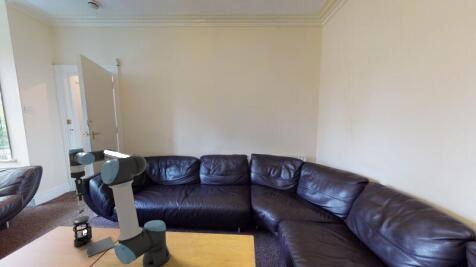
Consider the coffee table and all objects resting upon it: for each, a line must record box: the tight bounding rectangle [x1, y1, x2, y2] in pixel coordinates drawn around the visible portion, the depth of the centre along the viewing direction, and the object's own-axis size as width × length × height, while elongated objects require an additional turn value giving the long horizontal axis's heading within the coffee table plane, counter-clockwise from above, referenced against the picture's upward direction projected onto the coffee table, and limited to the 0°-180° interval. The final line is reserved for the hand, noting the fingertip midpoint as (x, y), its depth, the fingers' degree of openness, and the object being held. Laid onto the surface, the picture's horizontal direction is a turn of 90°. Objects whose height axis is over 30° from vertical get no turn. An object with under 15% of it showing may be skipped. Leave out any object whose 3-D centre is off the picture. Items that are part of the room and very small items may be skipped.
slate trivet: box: [85, 236, 116, 258], centre depth 126 cm, size 14×14×1 cm
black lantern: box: [71, 209, 93, 248], centre depth 129 cm, size 12×9×23 cm
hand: (80, 201), depth 128 cm, fingers open, 13 cm apart
